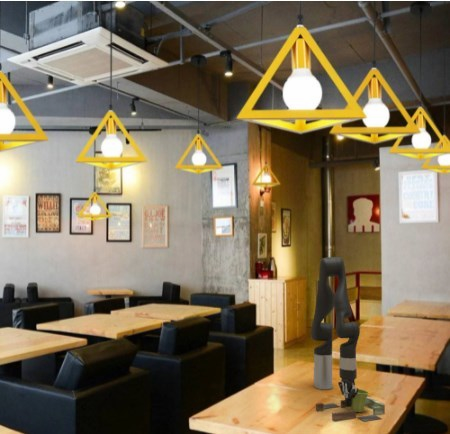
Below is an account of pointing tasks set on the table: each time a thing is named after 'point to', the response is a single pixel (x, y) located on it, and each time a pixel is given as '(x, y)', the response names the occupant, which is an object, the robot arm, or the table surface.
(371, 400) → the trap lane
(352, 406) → the plant pot
